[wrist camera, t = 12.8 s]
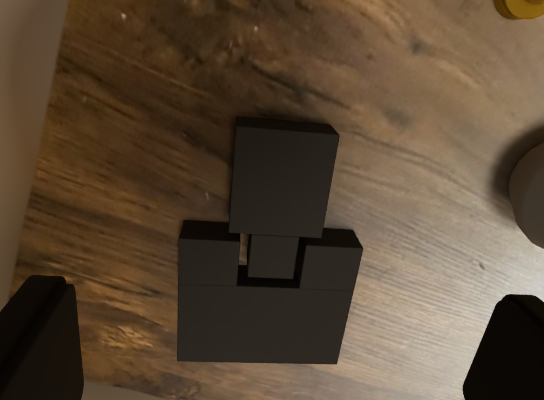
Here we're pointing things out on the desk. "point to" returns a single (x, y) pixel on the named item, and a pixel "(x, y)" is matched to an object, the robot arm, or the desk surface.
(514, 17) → the chess piece
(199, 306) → the base pad
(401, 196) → the desk surface
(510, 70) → the desk surface
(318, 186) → the black pad
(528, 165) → the cup
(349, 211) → the desk surface
